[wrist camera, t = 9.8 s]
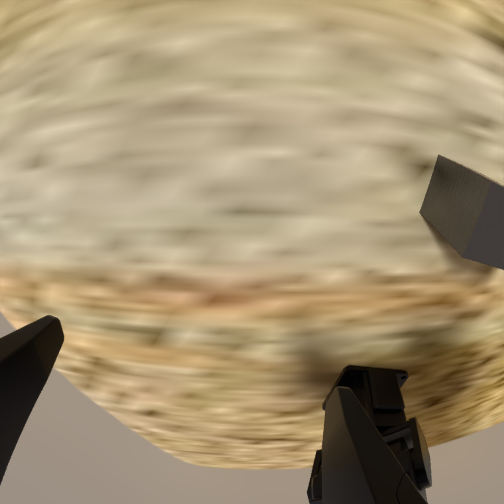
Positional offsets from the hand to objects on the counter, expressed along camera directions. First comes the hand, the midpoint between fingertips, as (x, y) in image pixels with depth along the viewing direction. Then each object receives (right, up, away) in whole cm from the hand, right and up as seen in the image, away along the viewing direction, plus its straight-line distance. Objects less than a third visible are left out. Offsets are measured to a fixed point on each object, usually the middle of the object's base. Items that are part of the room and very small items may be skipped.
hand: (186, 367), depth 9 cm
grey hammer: (+23, +6, +8) cm, 25 cm away
